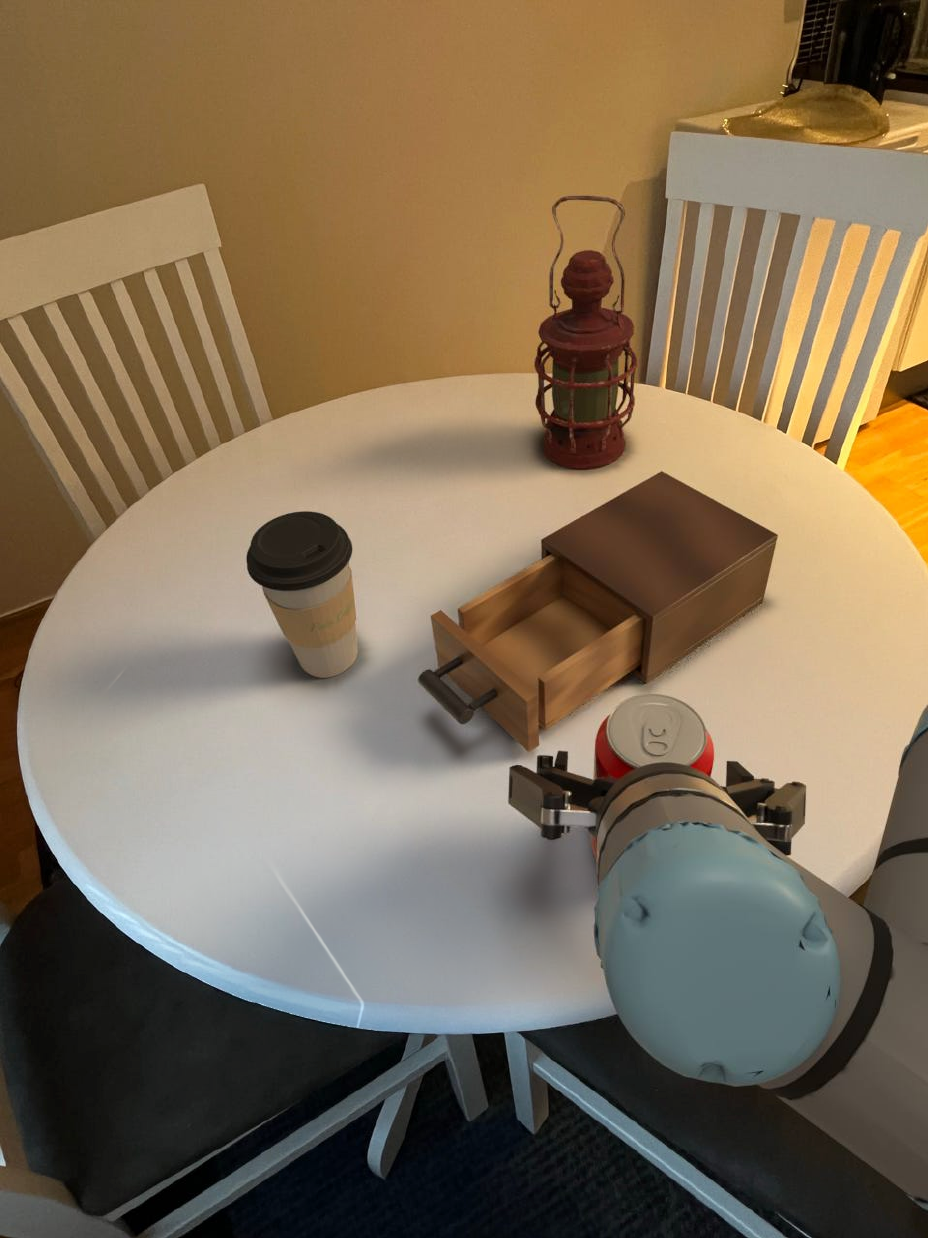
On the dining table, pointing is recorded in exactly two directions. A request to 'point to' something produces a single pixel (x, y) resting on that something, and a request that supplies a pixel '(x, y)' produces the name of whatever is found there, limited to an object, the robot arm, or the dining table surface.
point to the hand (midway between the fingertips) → (645, 774)
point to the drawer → (534, 649)
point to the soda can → (651, 738)
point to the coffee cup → (308, 588)
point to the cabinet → (670, 563)
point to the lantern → (585, 362)
